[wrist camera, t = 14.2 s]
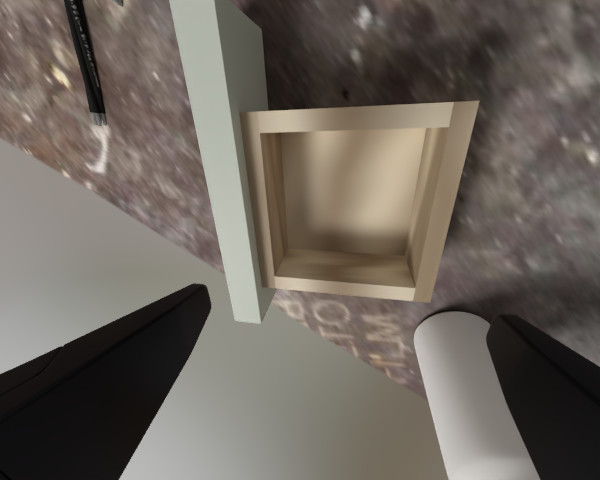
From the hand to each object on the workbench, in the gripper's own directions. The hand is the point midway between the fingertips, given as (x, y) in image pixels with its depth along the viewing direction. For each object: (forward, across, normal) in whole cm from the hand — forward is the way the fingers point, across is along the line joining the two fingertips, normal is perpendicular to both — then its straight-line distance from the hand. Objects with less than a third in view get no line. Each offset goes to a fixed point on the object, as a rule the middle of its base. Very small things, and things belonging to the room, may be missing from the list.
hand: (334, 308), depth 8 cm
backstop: (+13, +7, -1) cm, 14 cm away
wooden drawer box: (+13, 0, 0) cm, 13 cm away
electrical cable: (+13, +18, -11) cm, 25 cm away
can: (+13, -10, +13) cm, 21 cm away
